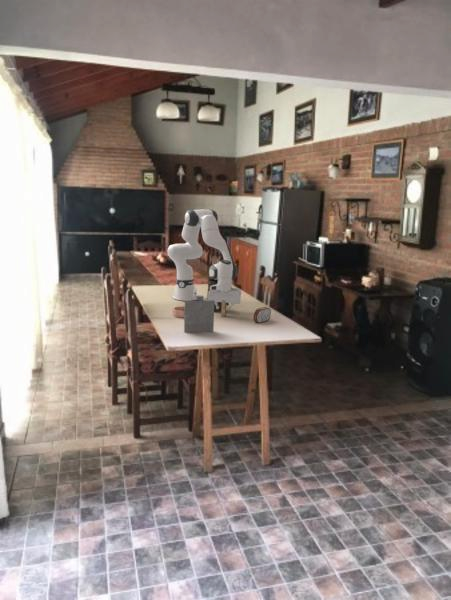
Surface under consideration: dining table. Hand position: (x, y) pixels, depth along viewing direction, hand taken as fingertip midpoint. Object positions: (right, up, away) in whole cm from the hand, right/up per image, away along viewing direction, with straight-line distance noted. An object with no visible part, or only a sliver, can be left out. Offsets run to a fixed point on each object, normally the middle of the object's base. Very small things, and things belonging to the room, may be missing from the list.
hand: (223, 309), depth 304 cm
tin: (+23, -7, -10) cm, 26 cm away
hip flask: (-13, -12, -36) cm, 40 cm away
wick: (0, -4, +1) cm, 4 cm away
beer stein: (-4, -1, +16) cm, 17 cm away
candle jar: (-24, -3, 0) cm, 25 cm away
